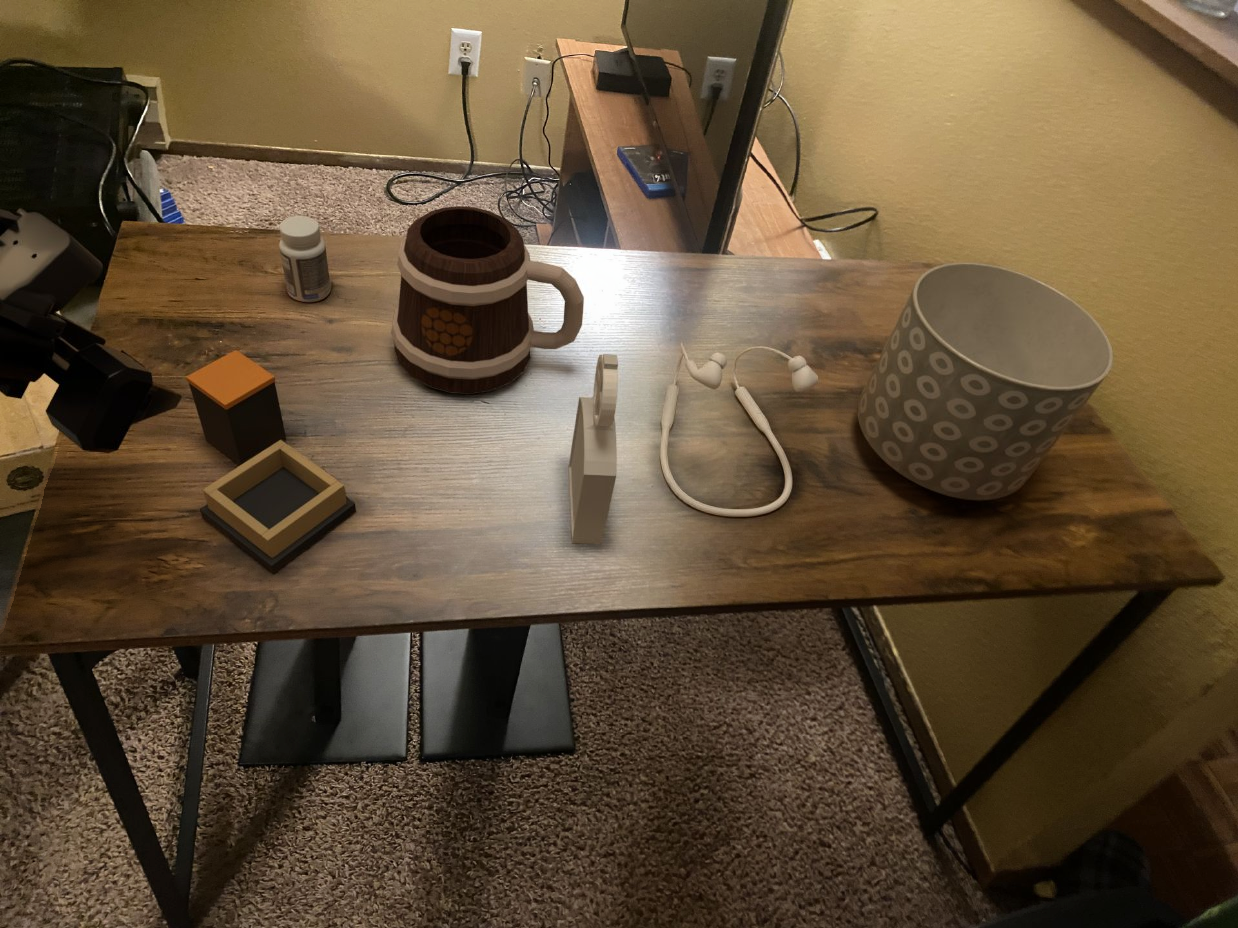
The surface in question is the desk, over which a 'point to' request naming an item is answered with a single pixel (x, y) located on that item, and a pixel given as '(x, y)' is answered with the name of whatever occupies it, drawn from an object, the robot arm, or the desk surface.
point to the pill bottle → (304, 259)
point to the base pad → (276, 505)
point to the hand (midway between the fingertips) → (139, 372)
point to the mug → (472, 301)
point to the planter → (980, 379)
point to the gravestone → (594, 455)
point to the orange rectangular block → (237, 406)
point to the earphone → (712, 379)
